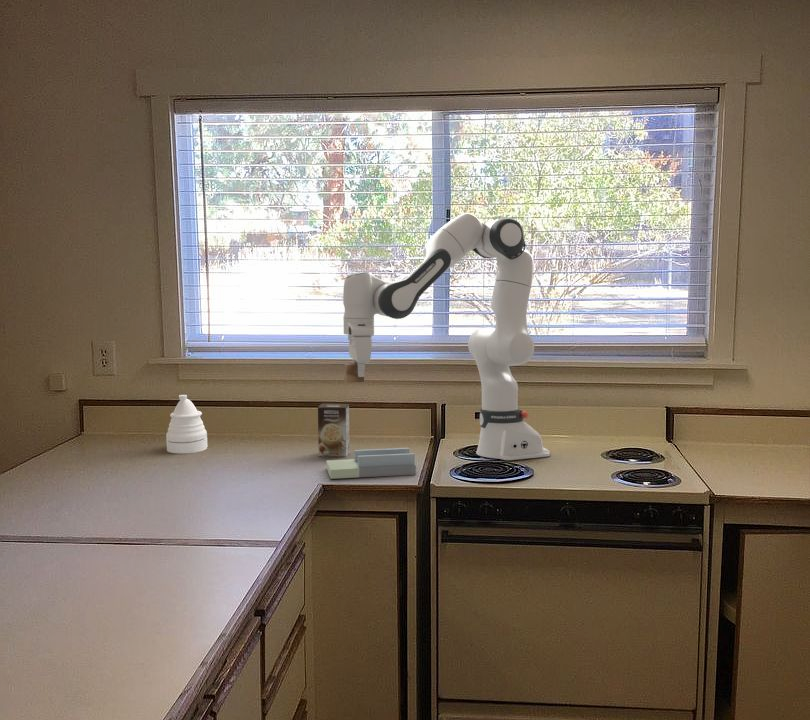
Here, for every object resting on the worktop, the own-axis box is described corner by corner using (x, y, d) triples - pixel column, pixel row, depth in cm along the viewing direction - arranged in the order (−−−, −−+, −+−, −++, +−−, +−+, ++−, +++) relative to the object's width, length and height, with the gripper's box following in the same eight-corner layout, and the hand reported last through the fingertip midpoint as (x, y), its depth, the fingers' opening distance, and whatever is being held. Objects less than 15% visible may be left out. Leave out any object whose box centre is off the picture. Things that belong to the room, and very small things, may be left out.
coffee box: (317, 458, 244) (316, 407, 241) (321, 453, 250) (320, 403, 248) (347, 458, 243) (345, 407, 240) (350, 453, 249) (349, 403, 247)
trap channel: (407, 465, 233) (407, 446, 233) (415, 474, 222) (415, 455, 221) (326, 468, 229) (326, 450, 228) (330, 478, 217) (330, 459, 217)
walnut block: (361, 379, 232) (361, 362, 231) (364, 381, 227) (363, 364, 227) (344, 380, 231) (344, 363, 230) (346, 382, 226) (346, 365, 226)
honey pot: (201, 453, 251) (198, 397, 248) (161, 453, 251) (158, 398, 248) (212, 443, 263) (209, 390, 261) (173, 444, 264) (170, 391, 261)
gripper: (343, 326, 237) (344, 372, 239) (352, 330, 217) (352, 379, 219) (364, 326, 239) (365, 371, 240) (374, 329, 219) (375, 379, 220)
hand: (359, 375), depth 229 cm, fingers closed on walnut block, 5 cm apart
